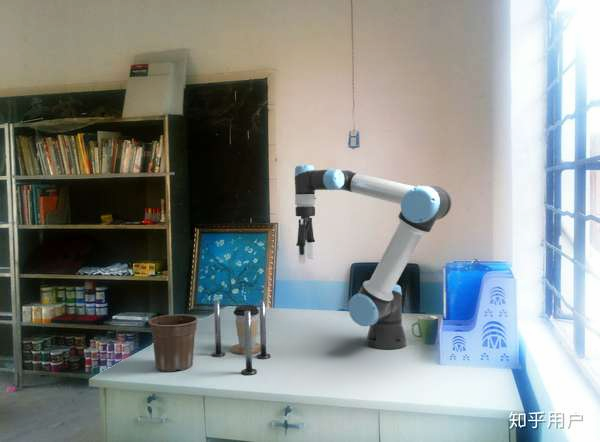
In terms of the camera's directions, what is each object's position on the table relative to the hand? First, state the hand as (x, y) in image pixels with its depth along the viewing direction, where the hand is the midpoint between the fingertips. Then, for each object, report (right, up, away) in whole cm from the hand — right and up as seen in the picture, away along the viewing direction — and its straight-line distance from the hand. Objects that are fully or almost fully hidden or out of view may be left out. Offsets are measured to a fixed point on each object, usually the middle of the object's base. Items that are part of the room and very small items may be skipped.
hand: (306, 261), depth 204 cm
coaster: (-22, -33, -7) cm, 40 cm away
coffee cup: (-22, -32, -7) cm, 39 cm away
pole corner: (-15, -33, -16) cm, 40 cm away
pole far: (-32, -33, -12) cm, 48 cm away
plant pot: (-45, -34, -24) cm, 61 cm away
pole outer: (-19, -34, -33) cm, 51 cm away
